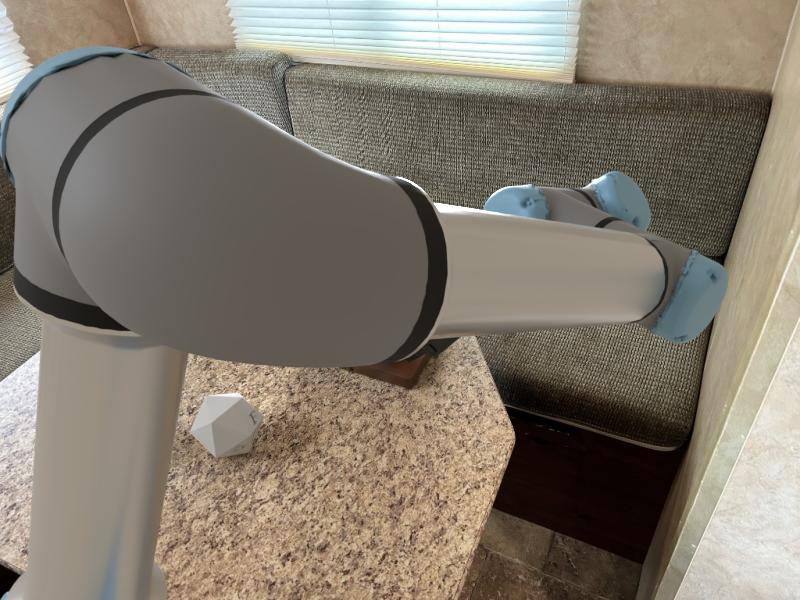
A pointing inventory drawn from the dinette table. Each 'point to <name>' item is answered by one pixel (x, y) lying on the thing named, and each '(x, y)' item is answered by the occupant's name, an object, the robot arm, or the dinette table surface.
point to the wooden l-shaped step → (395, 371)
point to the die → (226, 424)
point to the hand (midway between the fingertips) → (422, 324)
